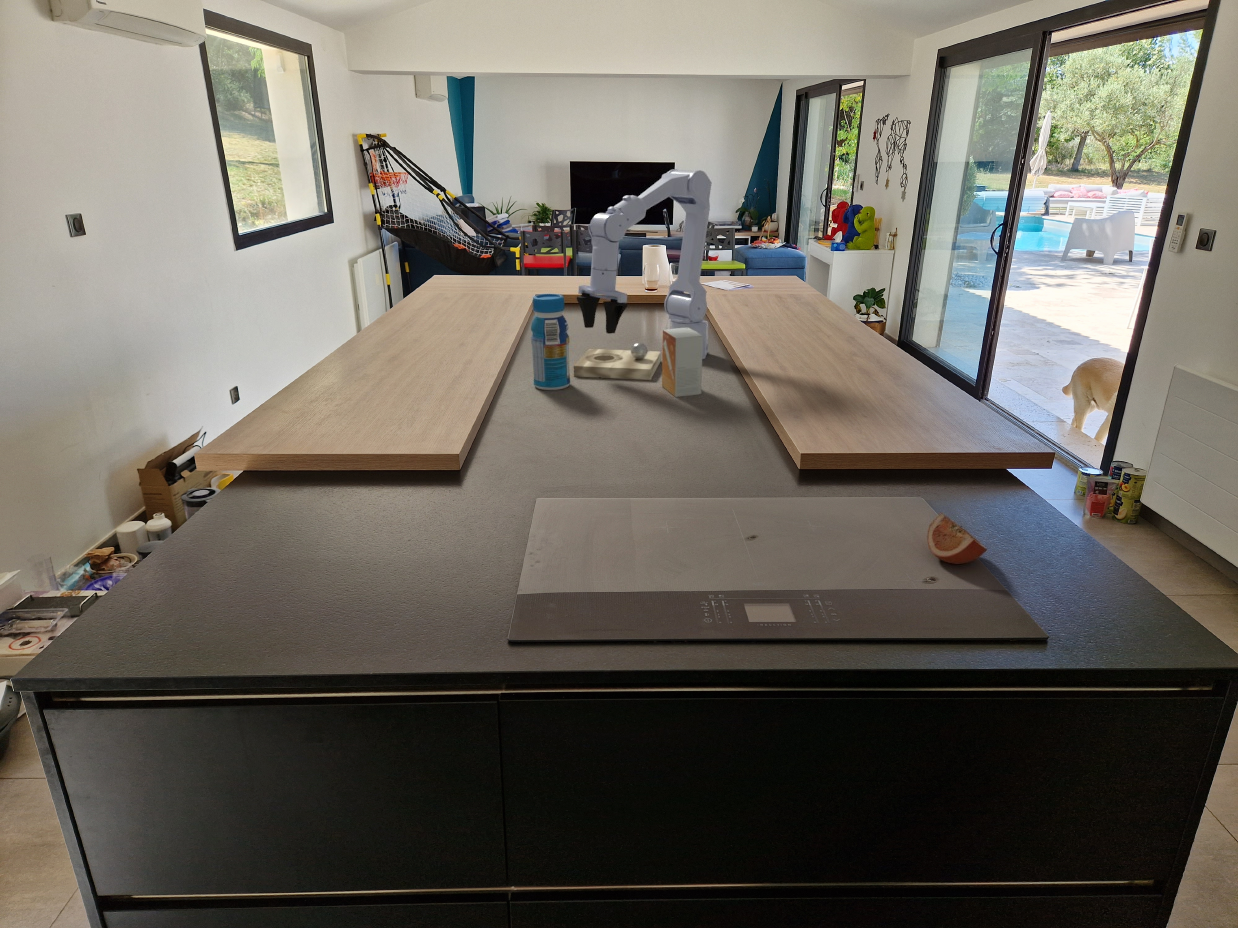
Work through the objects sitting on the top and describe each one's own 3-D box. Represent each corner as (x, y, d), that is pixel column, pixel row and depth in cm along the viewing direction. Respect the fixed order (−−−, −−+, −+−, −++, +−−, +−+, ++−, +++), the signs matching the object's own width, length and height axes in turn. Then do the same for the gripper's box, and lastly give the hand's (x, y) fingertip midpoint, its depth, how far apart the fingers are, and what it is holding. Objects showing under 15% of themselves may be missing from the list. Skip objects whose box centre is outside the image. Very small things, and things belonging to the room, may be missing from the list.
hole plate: (660, 361, 200) (660, 351, 199) (650, 379, 186) (650, 369, 185) (589, 358, 203) (589, 348, 202) (573, 376, 189) (573, 365, 188)
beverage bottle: (525, 388, 181) (520, 298, 173) (546, 378, 187) (542, 291, 180) (558, 393, 177) (554, 301, 169) (577, 383, 184) (575, 294, 176)
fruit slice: (915, 545, 111) (920, 512, 109) (961, 542, 112) (967, 509, 110) (945, 576, 104) (950, 541, 102) (994, 572, 104) (1001, 537, 102)
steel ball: (648, 357, 194) (648, 341, 192) (646, 362, 190) (646, 345, 189) (632, 356, 195) (632, 340, 193) (629, 361, 191) (629, 344, 190)
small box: (661, 387, 180) (661, 329, 175) (688, 384, 182) (689, 327, 177) (674, 397, 173) (675, 337, 168) (702, 394, 175) (703, 335, 170)
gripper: (569, 265, 184) (566, 325, 188) (612, 273, 174) (607, 336, 178) (593, 266, 188) (589, 324, 192) (636, 273, 178) (630, 335, 182)
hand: (599, 330), depth 185 cm, fingers open, 7 cm apart
